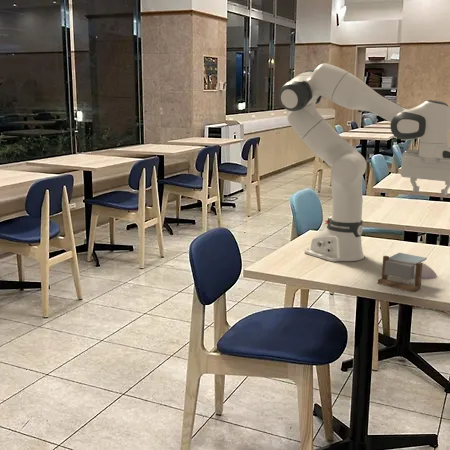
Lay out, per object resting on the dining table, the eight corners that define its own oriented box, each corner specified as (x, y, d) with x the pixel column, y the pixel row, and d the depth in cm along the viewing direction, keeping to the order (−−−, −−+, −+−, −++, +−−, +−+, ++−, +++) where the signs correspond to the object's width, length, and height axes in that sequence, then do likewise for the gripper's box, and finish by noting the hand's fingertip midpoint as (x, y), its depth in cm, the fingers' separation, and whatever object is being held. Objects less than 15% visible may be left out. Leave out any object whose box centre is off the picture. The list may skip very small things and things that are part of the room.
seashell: (416, 259, 203) (441, 260, 195) (418, 275, 204) (443, 276, 195) (398, 264, 197) (423, 264, 189) (399, 279, 198) (424, 281, 190)
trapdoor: (383, 274, 185) (384, 259, 184) (398, 266, 194) (399, 252, 193) (411, 280, 179) (412, 265, 178) (425, 272, 188) (426, 257, 187)
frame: (377, 283, 187) (379, 258, 185) (383, 280, 190) (385, 255, 188) (414, 292, 179) (417, 266, 177) (420, 288, 182) (422, 263, 180)
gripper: (398, 149, 191) (395, 190, 194) (461, 154, 178) (457, 198, 181) (406, 148, 196) (403, 188, 199) (468, 152, 183) (464, 195, 186)
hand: (429, 193), depth 190 cm, fingers open, 8 cm apart
